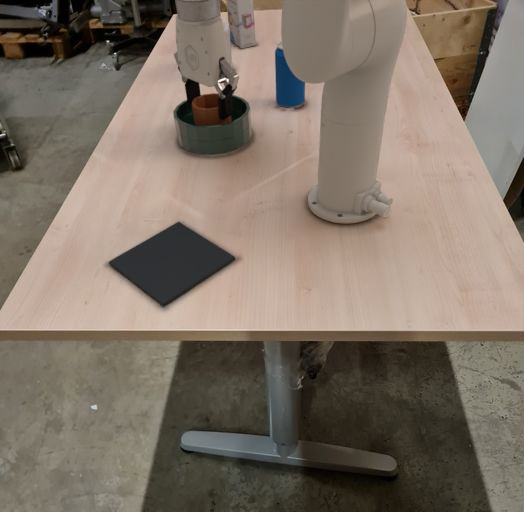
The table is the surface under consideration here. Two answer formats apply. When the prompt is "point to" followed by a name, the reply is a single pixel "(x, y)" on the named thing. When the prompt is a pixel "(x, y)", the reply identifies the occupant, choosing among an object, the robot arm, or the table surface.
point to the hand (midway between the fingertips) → (210, 109)
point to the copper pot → (207, 111)
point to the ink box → (241, 22)
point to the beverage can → (287, 82)
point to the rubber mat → (171, 262)
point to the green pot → (213, 130)
